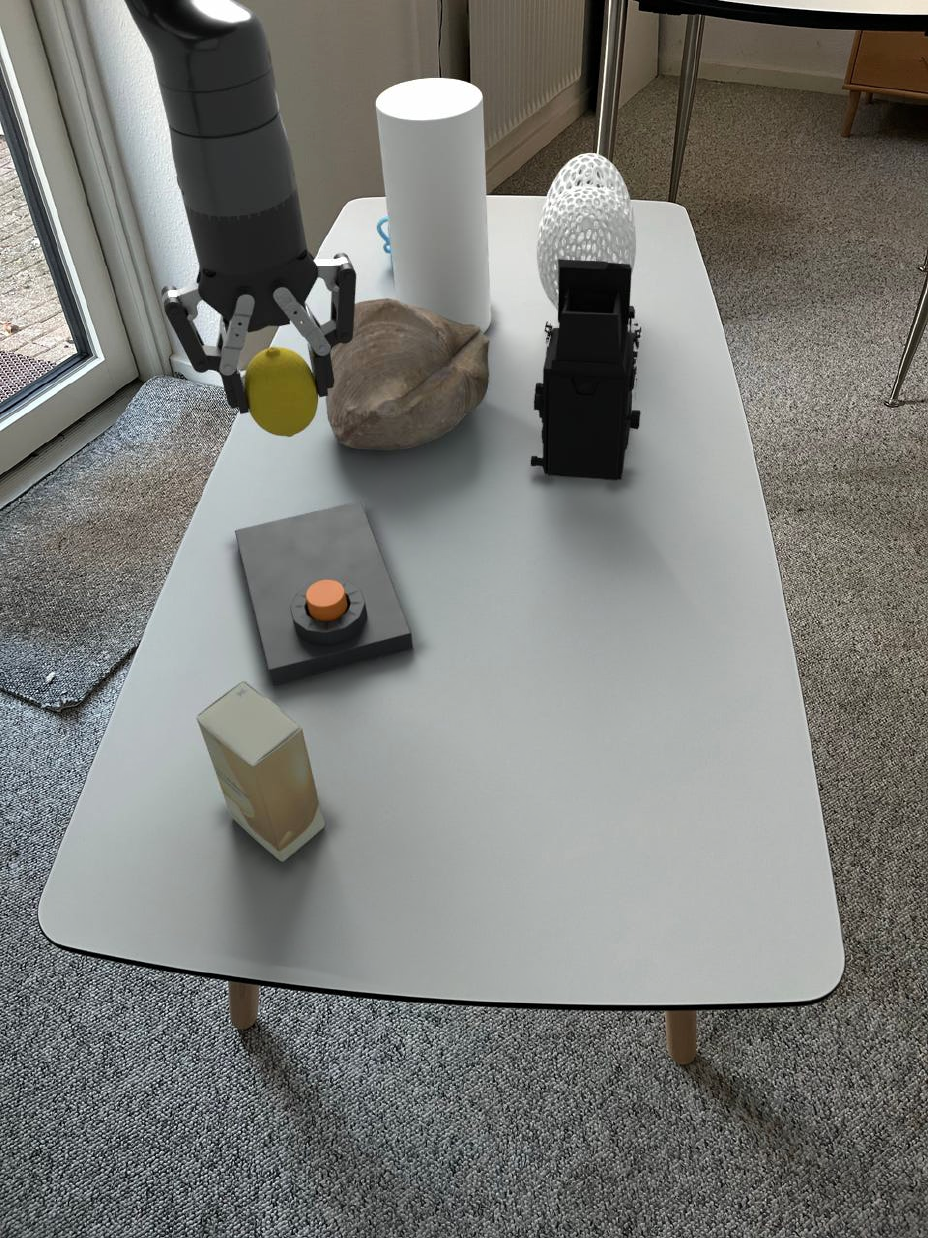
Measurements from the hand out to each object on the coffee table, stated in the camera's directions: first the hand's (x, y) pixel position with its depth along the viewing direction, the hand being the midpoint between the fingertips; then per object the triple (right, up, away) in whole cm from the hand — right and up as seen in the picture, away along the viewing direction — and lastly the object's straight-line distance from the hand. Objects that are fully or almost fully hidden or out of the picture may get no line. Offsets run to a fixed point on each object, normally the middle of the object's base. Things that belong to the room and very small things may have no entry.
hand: (282, 398), depth 83 cm
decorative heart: (+28, +17, +40) cm, 52 cm away
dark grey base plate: (+1, -15, +12) cm, 19 cm away
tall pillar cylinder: (+12, +18, +42) cm, 47 cm away
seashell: (+8, +4, +29) cm, 31 cm away
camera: (+26, +1, +25) cm, 37 cm away
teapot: (+10, +28, +52) cm, 59 cm away
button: (+3, -16, +6) cm, 17 cm away
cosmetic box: (0, -32, -4) cm, 32 cm away
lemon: (0, -3, +3) cm, 4 cm away
